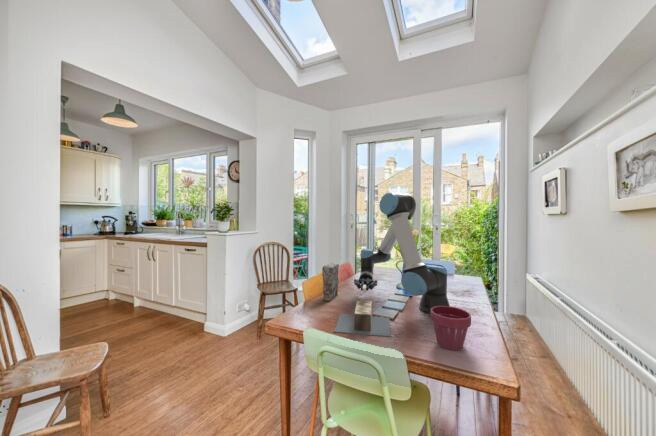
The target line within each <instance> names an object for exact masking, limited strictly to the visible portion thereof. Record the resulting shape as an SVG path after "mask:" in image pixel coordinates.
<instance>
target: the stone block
mask: <svg viewBox="0 0 656 436" xmlns="http://www.w3.org/2000/svg"><path fill="white" fill-rule="evenodd" d="M339 267H340V265H339V263H334V262H329V263H326V264H325V265H323V266H322V271H321V272H322V273H321V274H322V285H323V286H322V291H323V300H324V301H328V302H332V301H334V300H335V298H336V297H337V296H338V290H339V289H338V288H339V270H340V269H339Z"/></svg>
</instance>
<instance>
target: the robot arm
mask: <svg viewBox="0 0 656 436" xmlns="http://www.w3.org/2000/svg"><path fill="white" fill-rule="evenodd" d="M416 207H417V203H416V199H415V198H414V196H412V195H411V194H409V193H406V192H402V193H401V192H394V191H392V192H386V193H385V194H383V196H382V197H381V198H380V200H379V207H378V208H379V210H380V212H381V213H382V214H383V215H385V216H386V219H387V221H388V222H391V224H390V226H389V228H388V229H387V232H386V234H385V235H384V237H383V238H382V241H381V243H380V245H379V247H378V249H377V250H375V251H374V250H373V249H372V248H362V249H361V250H360V275H359V278H358V279H354V280H353V285H355V286H356V289H358V290H360V291H362V294H365V295H366V294H367V291H369V290H371V291H372V290H373V289H374V288H375V287H376V286H378V280H374V264H376V265H377V264H381V263H382V264H383V263H387V262H389V261H390V260H391V259H392V255H391V252H392V250H393V249H394V247H395V245H396V243H397V245H398V248H399V251H400V255H401V258H402V261H403V264H404V267H403V268H402V272H403V275H402V276H401V277H402V278H401V285H402V287H403V289H404V291H405V292H406V293H408V294H409V295H411V296H413V297H414V296H415V297H416V296H417V297H418V296H421V298H420V301H419V306H418V307H419V310H421V311H422V312H425V313H428V314H431V308H433V307H435V306H450V303H449V299H448V295H447V294H448V293H447V292H448V291H447V289H448V288H447V287H448V271H447V268H446V267H444V266H440V265H433V264H426V263H424V262H423V261H422V257H421V256H420V252H419V249H418V246H417V245H418V244H417V243H416V242H417V241H416V239H415V237H414V234H413V230H412V227H411V224H410V221H411V220H412V218H413V217H414V215H415V211H416V209H417V208H416ZM450 307H451V306H450Z"/></svg>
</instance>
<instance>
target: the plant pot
mask: <svg viewBox="0 0 656 436" xmlns="http://www.w3.org/2000/svg"><path fill="white" fill-rule="evenodd" d="M430 320H431V322H433V323H432V324H433V328H434V329H433V330H434V332H435V333H434V334H435V337H436V342H437V344H438V345H439V346H440V347H442V348H444V349H446V350H451V351H459V349H460V350H462V349H463V347H464V346H465V345H464V344H465V341H466V337H467V333H468V329H469V328H470V327H471V326H472V315H471V313H470V312H469V311H466V310H465V309H463V308H460V307H456V306H435V307H433V308H431V313H430Z"/></svg>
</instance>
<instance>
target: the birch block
mask: <svg viewBox="0 0 656 436" xmlns="http://www.w3.org/2000/svg"><path fill="white" fill-rule="evenodd" d="M372 302H373V301H372V300H360V299H358V300H356V304H355V305H356V306H355V308H354V309H355V310H354V314H353V315H354V330H359V331H371V316H373V314H372V313H373V312H372V307H373V305H372V304H373V303H372Z"/></svg>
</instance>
